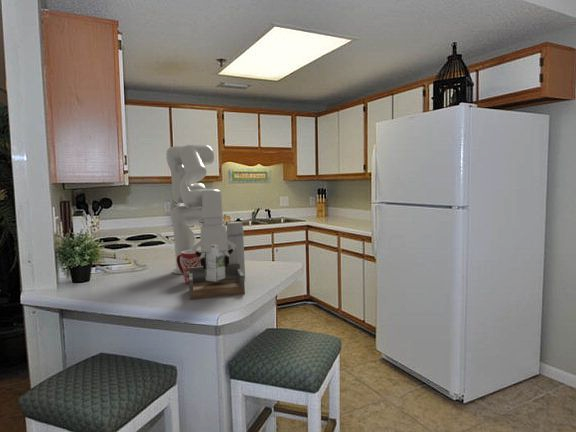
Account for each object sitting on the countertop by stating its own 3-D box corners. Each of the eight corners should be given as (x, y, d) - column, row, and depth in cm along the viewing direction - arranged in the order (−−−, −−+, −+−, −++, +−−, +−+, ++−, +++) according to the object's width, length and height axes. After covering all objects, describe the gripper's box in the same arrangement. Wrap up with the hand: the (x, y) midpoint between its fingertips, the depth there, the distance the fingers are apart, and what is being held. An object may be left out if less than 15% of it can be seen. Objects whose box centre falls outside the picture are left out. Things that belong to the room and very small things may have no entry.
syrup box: (215, 277, 156) (213, 241, 154) (226, 278, 153) (224, 241, 151) (205, 280, 151) (203, 243, 149) (217, 282, 148) (214, 244, 146)
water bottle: (243, 282, 165) (240, 223, 162) (225, 282, 166) (222, 223, 164) (249, 277, 174) (247, 220, 171) (232, 276, 175) (230, 221, 173)
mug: (208, 280, 170) (207, 249, 169) (194, 285, 162) (192, 253, 161) (186, 278, 176) (185, 248, 175) (172, 283, 168) (170, 252, 167)
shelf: (190, 289, 157) (189, 267, 156) (240, 284, 161) (239, 263, 160) (190, 299, 143) (188, 275, 142) (244, 293, 148) (243, 270, 147)
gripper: (189, 224, 144) (192, 271, 146) (236, 221, 148) (239, 267, 150) (189, 222, 151) (192, 267, 153) (234, 219, 155) (236, 263, 157)
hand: (215, 266), depth 151 cm, fingers closed on syrup box, 8 cm apart
